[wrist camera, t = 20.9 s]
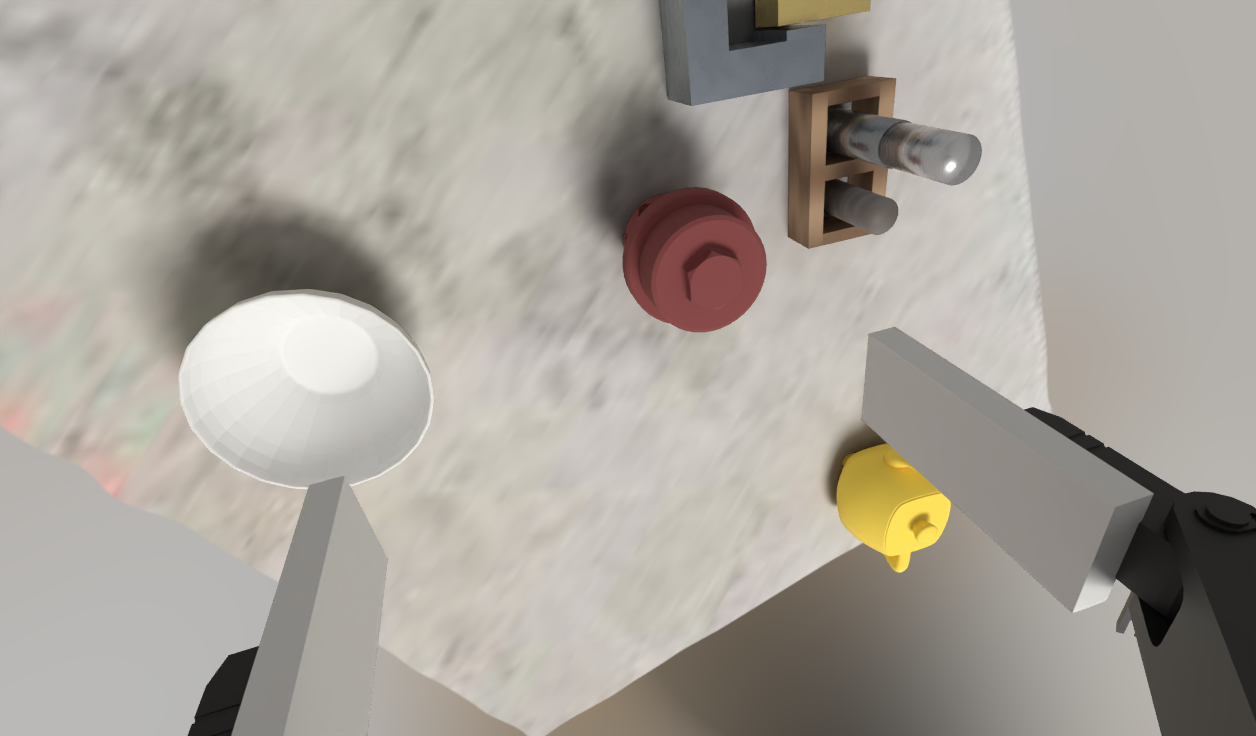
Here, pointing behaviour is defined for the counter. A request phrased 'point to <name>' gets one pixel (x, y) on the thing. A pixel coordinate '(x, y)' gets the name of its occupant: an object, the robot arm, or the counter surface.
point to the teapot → (889, 504)
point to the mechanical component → (693, 259)
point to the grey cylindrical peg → (903, 145)
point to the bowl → (306, 388)
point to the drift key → (804, 10)
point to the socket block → (733, 54)
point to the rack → (835, 167)
